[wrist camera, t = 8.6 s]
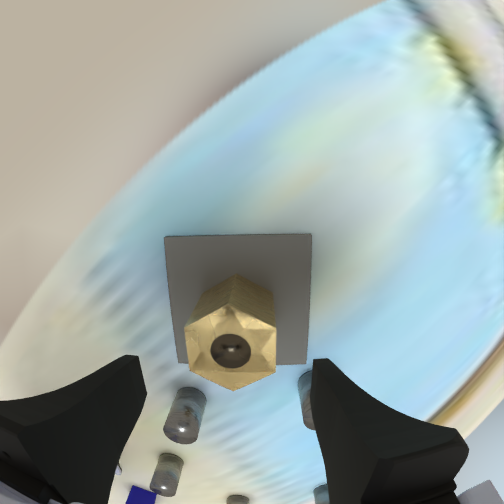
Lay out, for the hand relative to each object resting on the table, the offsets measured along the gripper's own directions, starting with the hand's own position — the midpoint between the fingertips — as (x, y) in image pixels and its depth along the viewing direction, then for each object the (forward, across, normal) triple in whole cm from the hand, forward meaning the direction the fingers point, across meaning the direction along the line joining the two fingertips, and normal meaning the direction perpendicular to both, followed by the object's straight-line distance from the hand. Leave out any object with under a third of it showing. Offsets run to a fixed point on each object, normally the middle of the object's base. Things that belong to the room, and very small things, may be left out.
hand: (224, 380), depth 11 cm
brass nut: (+8, 0, 0) cm, 8 cm away
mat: (+8, 0, 0) cm, 8 cm away
